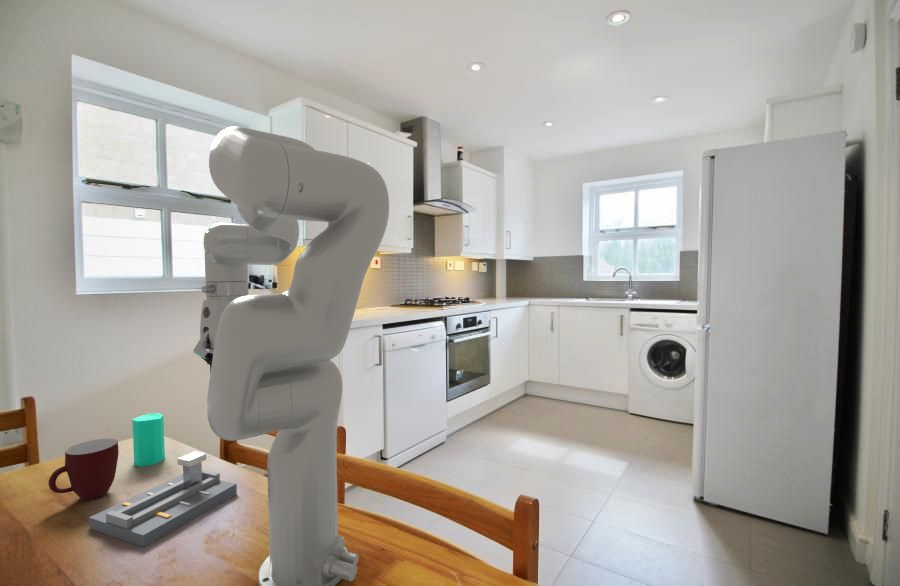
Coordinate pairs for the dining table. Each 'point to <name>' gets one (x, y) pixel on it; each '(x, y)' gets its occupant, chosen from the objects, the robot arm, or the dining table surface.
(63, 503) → the dining table surface
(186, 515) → the console
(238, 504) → the dining table surface
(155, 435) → the candle
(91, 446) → the mug
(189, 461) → the fader tab
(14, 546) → the dining table surface
